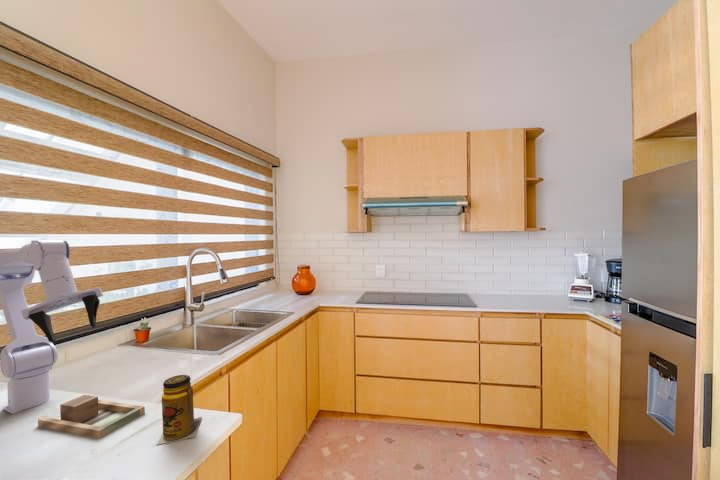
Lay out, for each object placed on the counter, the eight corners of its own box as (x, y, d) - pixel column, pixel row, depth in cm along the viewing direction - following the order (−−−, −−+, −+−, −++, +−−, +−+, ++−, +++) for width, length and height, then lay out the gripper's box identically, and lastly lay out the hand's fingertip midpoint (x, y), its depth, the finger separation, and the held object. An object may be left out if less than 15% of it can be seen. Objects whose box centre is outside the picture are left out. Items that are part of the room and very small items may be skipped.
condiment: (156, 445, 66) (154, 387, 67) (167, 424, 75) (165, 372, 75) (195, 438, 69) (193, 381, 69) (202, 418, 77) (200, 367, 77)
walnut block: (60, 421, 76) (60, 404, 76) (84, 410, 81) (83, 394, 81) (75, 424, 74) (74, 406, 74) (98, 412, 79) (97, 396, 79)
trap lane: (38, 430, 74) (37, 419, 74) (87, 408, 84) (87, 398, 84) (99, 442, 68) (98, 430, 68) (144, 416, 78) (144, 406, 78)
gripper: (10, 289, 71) (24, 345, 68) (90, 267, 79) (106, 316, 76) (24, 298, 77) (38, 350, 74) (98, 277, 85) (113, 323, 82)
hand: (73, 333), depth 76 cm, fingers open, 7 cm apart
